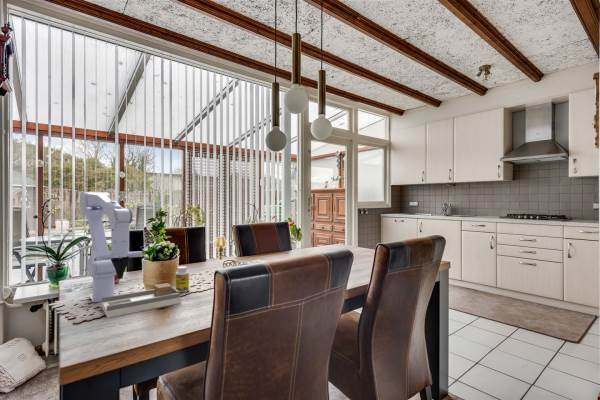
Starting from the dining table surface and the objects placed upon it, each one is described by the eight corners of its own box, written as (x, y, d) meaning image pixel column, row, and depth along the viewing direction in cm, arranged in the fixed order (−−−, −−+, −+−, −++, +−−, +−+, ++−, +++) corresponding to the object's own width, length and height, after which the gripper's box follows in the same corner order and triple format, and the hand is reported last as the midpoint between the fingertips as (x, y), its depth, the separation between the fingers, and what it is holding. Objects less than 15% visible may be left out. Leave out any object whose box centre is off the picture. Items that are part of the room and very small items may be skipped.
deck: (101, 306, 112) (101, 295, 112) (169, 294, 127) (169, 284, 127) (107, 317, 101) (107, 305, 101) (180, 303, 116) (180, 292, 116)
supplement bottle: (173, 292, 129) (173, 268, 129) (177, 288, 135) (177, 265, 135) (187, 292, 130) (187, 268, 130) (190, 288, 136) (190, 265, 136)
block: (154, 295, 119) (154, 285, 119) (167, 292, 122) (167, 282, 122) (157, 298, 115) (158, 287, 115) (171, 295, 118) (171, 285, 119)
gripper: (98, 244, 104) (97, 283, 104) (144, 240, 113) (144, 277, 113) (95, 242, 109) (95, 279, 109) (139, 239, 119) (139, 274, 119)
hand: (120, 278), depth 112 cm, fingers closed
